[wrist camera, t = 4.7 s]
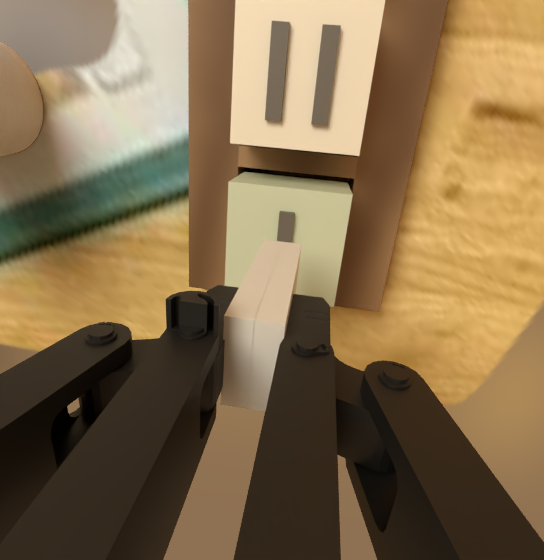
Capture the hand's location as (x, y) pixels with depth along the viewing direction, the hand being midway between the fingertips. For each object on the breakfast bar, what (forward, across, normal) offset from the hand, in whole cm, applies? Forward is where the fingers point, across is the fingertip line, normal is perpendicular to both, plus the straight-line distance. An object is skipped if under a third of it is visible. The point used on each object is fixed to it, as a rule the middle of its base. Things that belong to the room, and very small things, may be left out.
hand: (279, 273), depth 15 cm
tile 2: (+7, 0, +8) cm, 11 cm away
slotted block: (+7, 0, 0) cm, 7 cm away
